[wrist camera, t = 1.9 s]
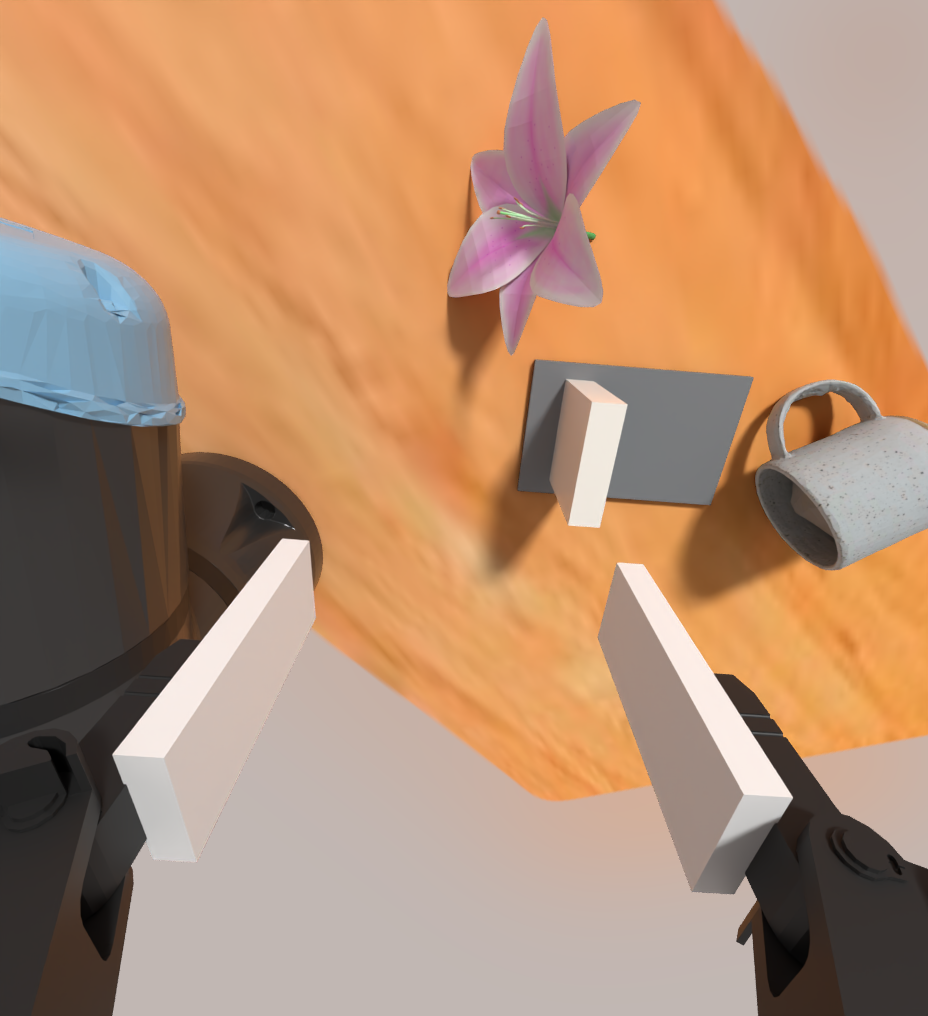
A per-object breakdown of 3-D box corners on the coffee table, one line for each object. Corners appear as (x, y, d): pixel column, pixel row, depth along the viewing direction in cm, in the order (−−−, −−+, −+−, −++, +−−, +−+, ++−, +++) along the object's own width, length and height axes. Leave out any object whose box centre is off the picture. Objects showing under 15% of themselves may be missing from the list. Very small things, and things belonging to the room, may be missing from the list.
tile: (549, 480, 32) (568, 525, 26) (565, 378, 29) (592, 401, 23) (574, 481, 32) (599, 527, 26) (593, 381, 29) (627, 404, 23)
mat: (517, 488, 33) (517, 490, 32) (534, 359, 29) (535, 360, 28) (707, 502, 33) (710, 505, 32) (750, 376, 29) (753, 377, 29)
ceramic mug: (886, 485, 32) (1001, 535, 25) (770, 536, 34) (846, 595, 27) (855, 350, 28) (979, 364, 21) (726, 415, 30) (802, 448, 23)
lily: (556, 44, 23) (461, -58, 16) (738, 176, 22) (726, 130, 14) (452, 266, 31) (356, 266, 24) (582, 375, 29) (523, 410, 22)
